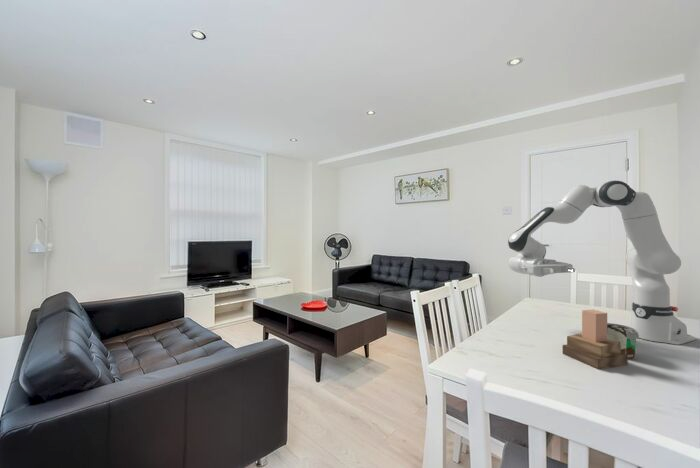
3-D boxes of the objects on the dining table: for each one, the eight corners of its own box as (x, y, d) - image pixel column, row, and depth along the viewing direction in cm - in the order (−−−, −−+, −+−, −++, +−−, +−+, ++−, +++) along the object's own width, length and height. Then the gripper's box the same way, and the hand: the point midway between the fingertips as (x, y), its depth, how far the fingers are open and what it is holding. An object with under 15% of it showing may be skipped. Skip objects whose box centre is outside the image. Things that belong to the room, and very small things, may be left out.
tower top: (586, 342, 114) (586, 332, 114) (620, 353, 104) (620, 341, 104) (567, 346, 110) (567, 336, 110) (600, 358, 100) (600, 346, 100)
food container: (648, 362, 104) (648, 334, 104) (628, 361, 105) (628, 333, 105) (623, 348, 116) (623, 323, 116) (605, 347, 118) (605, 322, 117)
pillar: (593, 336, 110) (593, 309, 110) (607, 341, 105) (607, 313, 105) (582, 337, 109) (582, 310, 109) (595, 342, 104) (595, 314, 104)
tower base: (590, 352, 115) (590, 341, 115) (627, 366, 102) (627, 355, 102) (562, 355, 112) (562, 344, 112) (597, 370, 100) (597, 359, 100)
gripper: (518, 260, 136) (542, 264, 123) (556, 259, 140) (584, 262, 127) (518, 274, 136) (543, 279, 123) (556, 272, 140) (584, 277, 127)
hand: (564, 270), depth 125 cm, fingers open, 8 cm apart
